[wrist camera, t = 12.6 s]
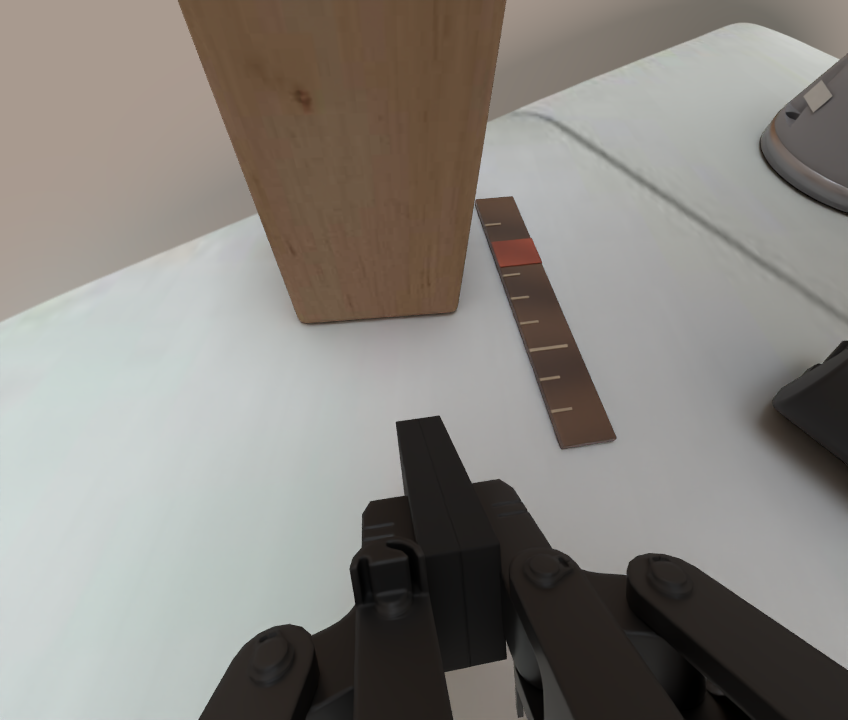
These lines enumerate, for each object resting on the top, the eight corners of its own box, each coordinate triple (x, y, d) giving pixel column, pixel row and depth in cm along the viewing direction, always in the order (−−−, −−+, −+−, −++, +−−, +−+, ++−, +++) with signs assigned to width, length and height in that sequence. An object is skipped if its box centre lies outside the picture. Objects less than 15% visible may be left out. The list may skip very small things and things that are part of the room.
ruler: (614, 441, 22) (617, 437, 22) (561, 449, 22) (563, 446, 21) (511, 200, 32) (513, 195, 32) (474, 203, 32) (475, 198, 32)
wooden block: (298, 327, 25) (71, -260, 8) (304, 218, 30) (170, -282, 13) (458, 314, 26) (550, -239, 9) (437, 211, 31) (471, -267, 14)
